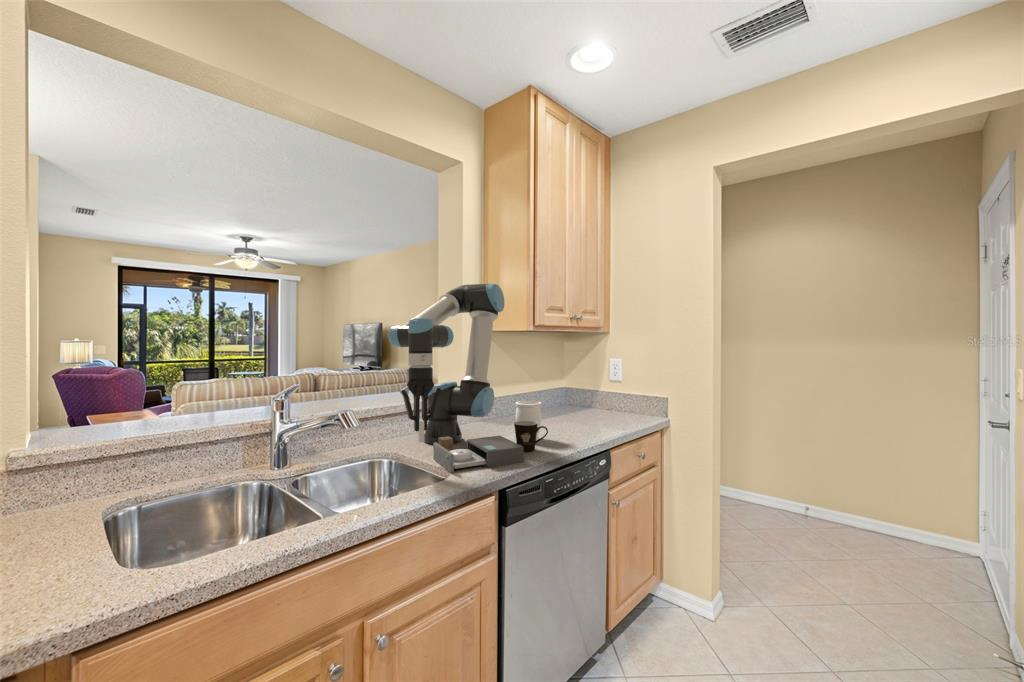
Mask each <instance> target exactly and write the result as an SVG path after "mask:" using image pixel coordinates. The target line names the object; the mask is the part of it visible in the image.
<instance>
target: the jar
mask: <svg viewBox="0 0 1024 682" xmlns="http://www.w3.org/2000/svg"><path fill="white" fill-rule="evenodd" d="M515 406H516V410H515V422H517V421H535V422H537V423H538V425H537V428H538V427H541V426H542V409H541V406H542V402H541V401H537V400H518V401H516V402H515ZM540 431H541V428H540V429H539V430H538V432H537V434H536V441H537V440H539V439H540V437H539V434H540Z"/></svg>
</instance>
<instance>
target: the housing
mask: <svg viewBox="0 0 1024 682" xmlns="http://www.w3.org/2000/svg"><path fill="white" fill-rule="evenodd" d="M466 449H469V450H471V451H472V452H474V453H475V454H477V455H479V456H480V457H482V458H483V459H485V460H486V464H483V466H484V467H486V468H495V467H501V466H508V465H512V464H513V465H514V464H520V463H524V452H523V446H521V445H519V444H517V442H516V441H513V440H511V439H508V438H506V437H504V436H503V435H500V434H499V435H494V436H484V437H478V438H470V439H469V438H468V439H466Z"/></svg>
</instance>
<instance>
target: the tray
mask: <svg viewBox="0 0 1024 682" xmlns="http://www.w3.org/2000/svg"><path fill="white" fill-rule="evenodd" d="M432 446H433V460H434V461H436V462H437V463H438V464H439V465H440V466H442V468H444V469H445V470H447V471H448V472H449V473H450V474H451V473H452V474H453V473H454V470H455V469H456V470H457V469H462V468H469V467H474V466H475V467H476V466H482V465H483V464H486V460H485V459H483V458H482V457H480V456H479V455H477V454H475V453H474V452H472V459H471V460H468V461H463V462H454V455H453V454H452V453H451V452H449V451H448V450H446V449H445V448H444V447H442V446H441V445H439V444H438V443H437V442H435V443H433V444H432ZM466 449H467V448H466ZM467 450H469V449H467ZM483 466H484V465H483Z"/></svg>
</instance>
